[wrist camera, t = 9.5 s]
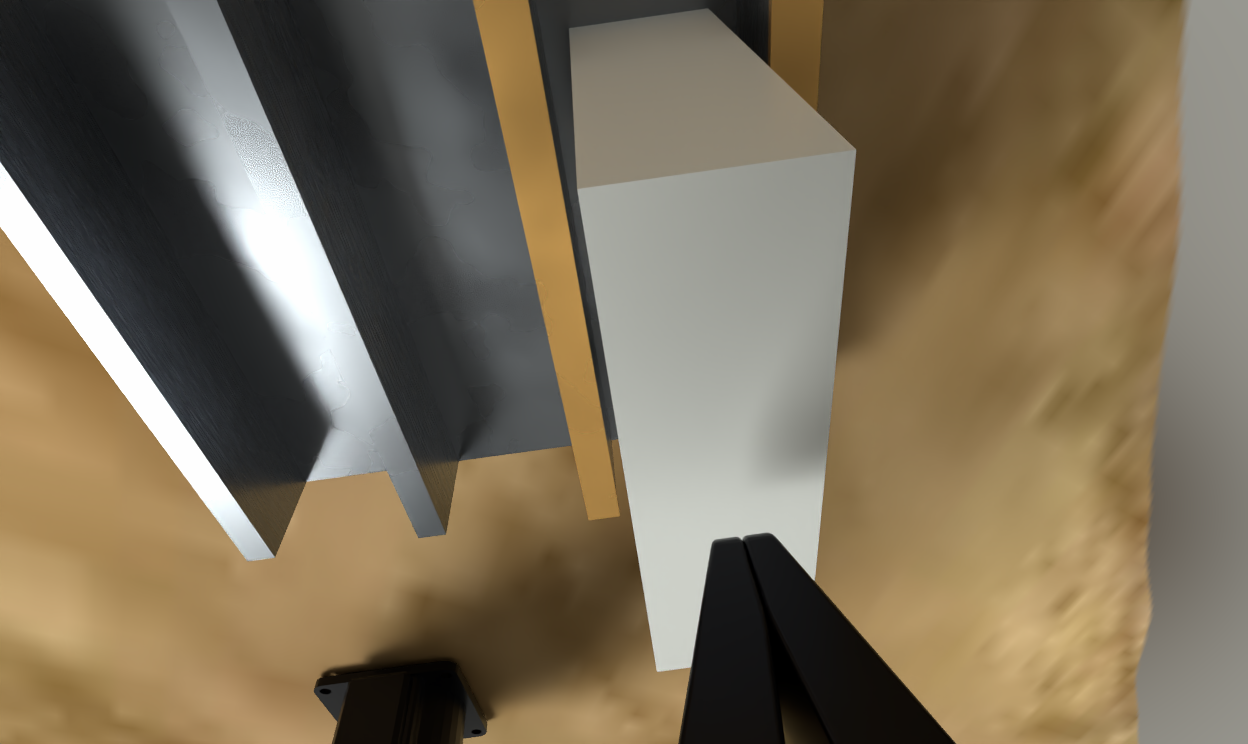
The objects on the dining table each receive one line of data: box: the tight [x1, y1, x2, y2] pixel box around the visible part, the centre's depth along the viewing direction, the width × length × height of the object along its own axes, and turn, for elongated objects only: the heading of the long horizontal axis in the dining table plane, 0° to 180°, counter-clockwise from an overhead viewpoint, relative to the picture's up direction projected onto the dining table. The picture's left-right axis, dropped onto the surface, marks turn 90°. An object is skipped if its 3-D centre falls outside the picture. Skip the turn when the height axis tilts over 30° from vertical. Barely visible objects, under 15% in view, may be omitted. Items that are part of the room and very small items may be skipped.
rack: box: [0, 0, 824, 561], centre depth 16 cm, size 14×16×4 cm
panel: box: [569, 8, 856, 672], centre depth 14 cm, size 10×3×9 cm, turn 7°
